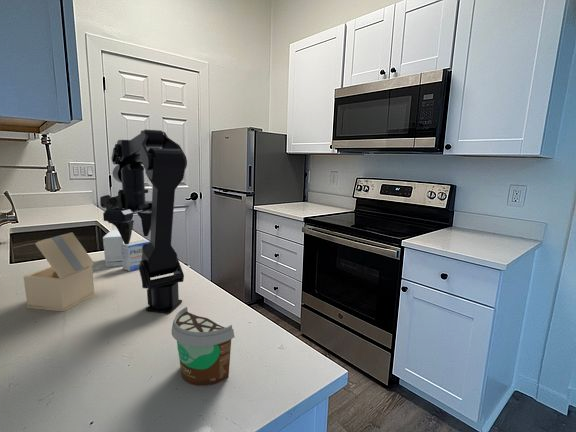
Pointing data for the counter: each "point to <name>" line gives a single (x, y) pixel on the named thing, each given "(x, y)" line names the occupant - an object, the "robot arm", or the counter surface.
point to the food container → (202, 348)
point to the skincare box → (113, 248)
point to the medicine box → (132, 254)
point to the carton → (58, 289)
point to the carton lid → (64, 254)
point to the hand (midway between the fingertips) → (136, 239)
